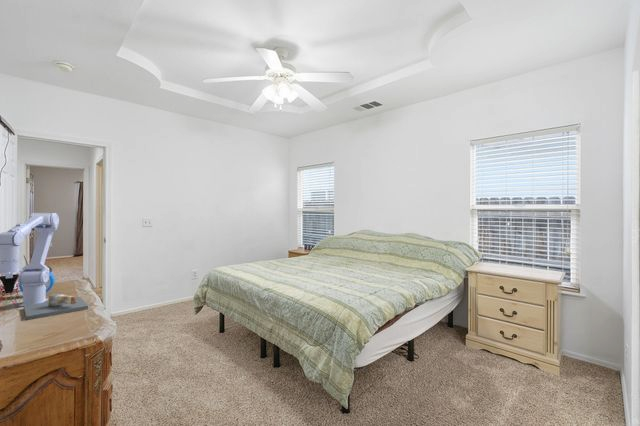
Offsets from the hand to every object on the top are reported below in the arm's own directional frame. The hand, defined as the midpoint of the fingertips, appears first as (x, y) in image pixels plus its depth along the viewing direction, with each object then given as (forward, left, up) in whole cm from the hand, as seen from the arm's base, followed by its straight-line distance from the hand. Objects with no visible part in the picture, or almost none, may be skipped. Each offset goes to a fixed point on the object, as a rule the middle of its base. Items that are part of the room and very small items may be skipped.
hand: (9, 292), depth 127 cm
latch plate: (-2, +15, -9) cm, 18 cm away
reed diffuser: (-51, -7, -10) cm, 52 cm away
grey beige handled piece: (0, +18, -8) cm, 20 cm away
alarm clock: (-34, -1, -10) cm, 35 cm away
